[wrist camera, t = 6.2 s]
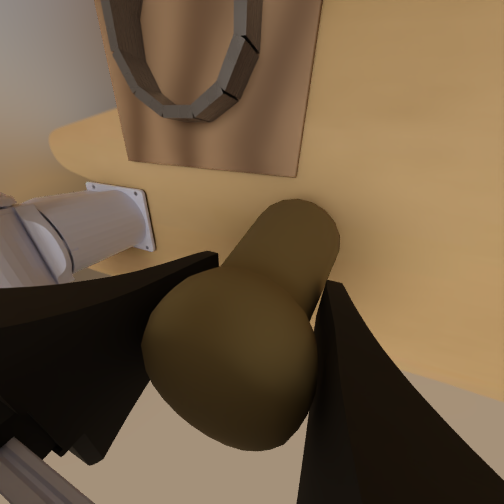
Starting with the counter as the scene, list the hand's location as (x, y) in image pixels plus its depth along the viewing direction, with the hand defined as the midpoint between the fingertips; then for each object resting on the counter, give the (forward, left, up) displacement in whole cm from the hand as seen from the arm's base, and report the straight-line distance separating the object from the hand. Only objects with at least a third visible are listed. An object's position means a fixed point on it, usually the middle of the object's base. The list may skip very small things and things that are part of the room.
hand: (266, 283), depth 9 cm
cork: (0, 0, -6) cm, 6 cm away
